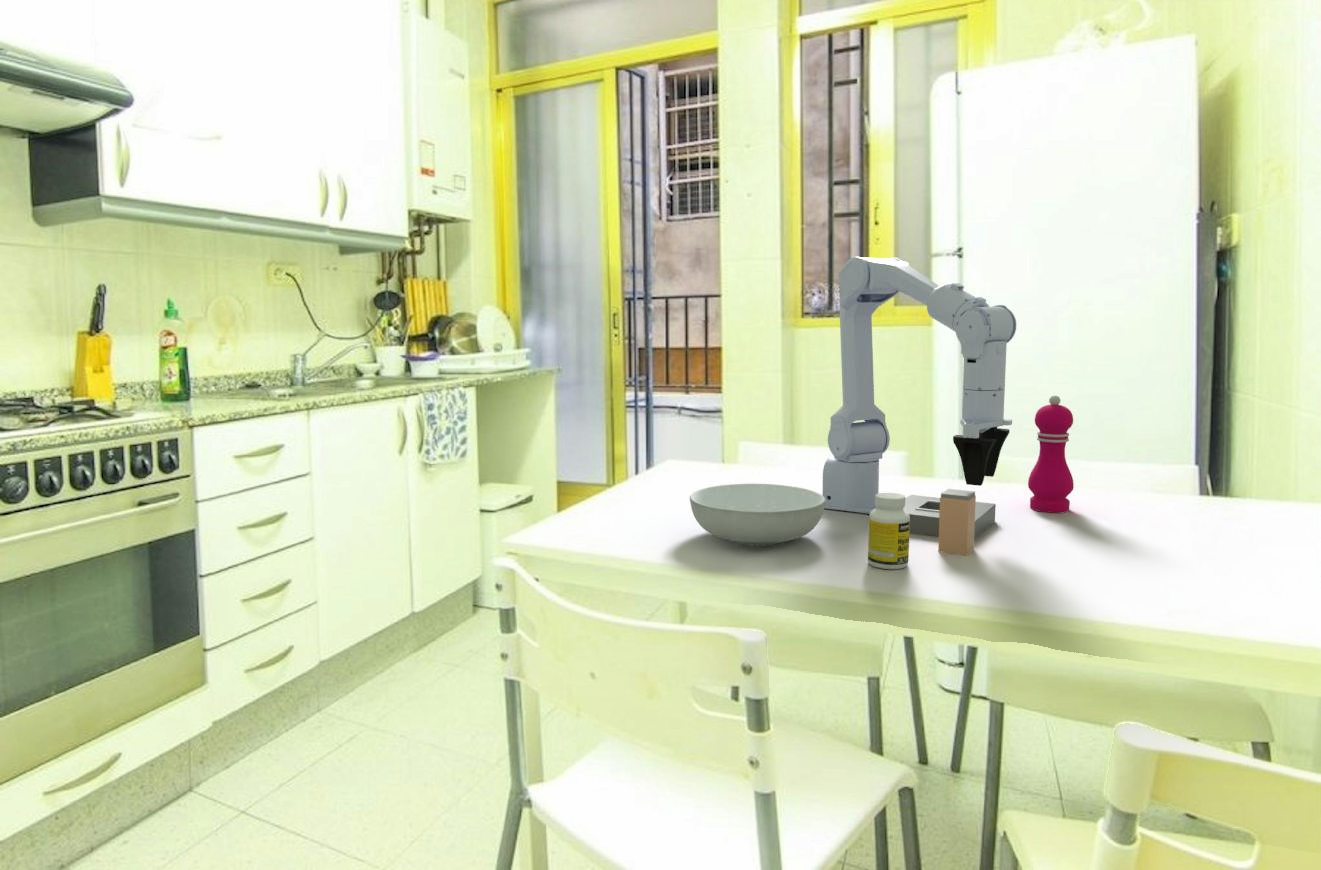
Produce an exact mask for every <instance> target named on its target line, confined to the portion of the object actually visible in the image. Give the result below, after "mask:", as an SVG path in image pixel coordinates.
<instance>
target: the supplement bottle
mask: <svg viewBox="0 0 1321 870" xmlns="http://www.w3.org/2000/svg"><path fill="white" fill-rule="evenodd" d="M905 498H906V495H905V494H901V493H896V492H880V493H879V492H878V494H876V495H875V505H876V506H877V508H876V509H874V510H872V511H871V512H870V514H869V515H868V516H869V517H868V518H869V519H868V545H867V546H868V547H867V548H868V549H867V550H868V551H867V562H868V564H869V565H871V567H874V568H876V569H883V570H901V569H904V568H906V567H907V566H908V565H909V553H910V552H909V550H910V533H909V530H910V516H909V514H908V513H907V512H906V511H904V510H903V507H905Z"/></svg>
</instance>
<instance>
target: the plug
mask: <svg viewBox="0 0 1321 870" xmlns="http://www.w3.org/2000/svg"><path fill="white" fill-rule="evenodd" d="M939 498H940V514H939V536H938V552H940V553H948V554H956V555H962V556H968V555H969V554H970V553H972V551H973V550H974V549H975V540H974V530H975V502H977V501H976V498H977V495H976V491H973V490H965V489H964V490H963V489H952V488H947V489H946V490H944V491H943V492H941V493H940V497H939Z"/></svg>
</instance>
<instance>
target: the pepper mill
mask: <svg viewBox="0 0 1321 870" xmlns="http://www.w3.org/2000/svg"><path fill="white" fill-rule="evenodd" d="M1048 402H1049V404H1046V405H1043V406H1042V407H1040V408H1039V409H1038V410H1037V411H1036V412H1035V416H1034V424H1035V425H1036V427H1037V428H1038V430H1039V431H1037V434H1036V435H1037V438H1036V439H1037V441H1039V454H1038V459H1036V460H1037V461H1036V463H1035V465H1034V467H1032V470H1031V472H1030V474H1029V477H1028V481H1027V487H1028V489H1029V491H1030V492H1031V493H1032V494H1033V496H1031V497H1030V499H1029V500H1030V501H1029V507H1030V509H1032V510H1033V511H1037V512H1042V513H1051V514H1052V513H1053V514H1062V513H1067V512H1069V511H1070V506H1071V505H1070V504H1071V503H1070V500H1069V498H1067V497H1068V496H1069V495H1070V494H1072V492H1073V490H1074V479H1073V475H1072V472H1071V470H1070V468H1069V466H1068V465H1069V464H1068V463H1067V458H1066V446H1067V445H1066V444H1067V442H1069V441H1070V439H1069V436H1070V433H1069V432H1068V431H1069V430H1070V429H1071V428H1072V426H1073V425H1074V415H1073V413H1072V411H1071V409H1069V408H1068V407H1066V406H1065V405H1061V404H1060V403H1061V398H1060V396H1058V395H1052V396H1050V398H1049V399H1048Z"/></svg>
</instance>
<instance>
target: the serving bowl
mask: <svg viewBox="0 0 1321 870" xmlns="http://www.w3.org/2000/svg"><path fill="white" fill-rule="evenodd" d="M689 502H690V507H691V511H692V514H693V517H694V518H695V521H696V523H698V525H699V526H700V527H701V528H702V529H703V530H705V531H706V532H707V533H709V534H711V535H713V536H714V537H717V538H720V539H721V540H722V539H723V540H724V541H725V540H726V541H730V542H733V543H735V544H740V545H745V546H773V545H777V544H780V543H784V542H785V543H786V542H790V541H794V540H796V539H799V538H802V537H803V536H806V535H808V534H809V533H810V532H812V531H813V530H814V529H815V527H817V525H819V523H820V521H821V519H822V517H823V514H824V510H825V508H824V506H825V498H824V496H823V494H821V493H819V492H817V491H814V490H811V489H807V488H803V487H798V486H792V485H784V484H783V485H782V484H772V483H732V484H722V485H721V484H719V485H715V486H709V487H705V488H704V487H703V488H701V489H699V490H696V491H694V492H692V493H691V494H690V496H689Z"/></svg>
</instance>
